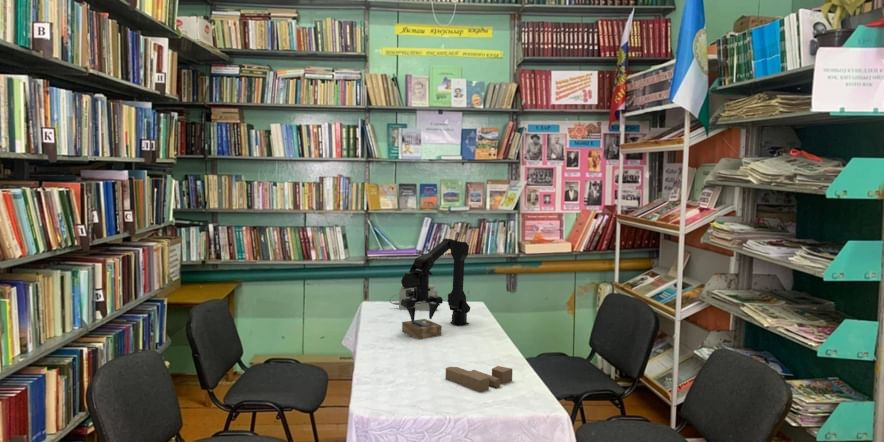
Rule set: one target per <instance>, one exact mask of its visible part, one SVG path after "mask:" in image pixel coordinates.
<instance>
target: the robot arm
mask: <svg viewBox="0 0 884 442" xmlns="http://www.w3.org/2000/svg"><path fill="white" fill-rule="evenodd" d="M469 249H470V245H469V243H468V242H466V241H460V240H454V239H452V238H442V241H440V242H439V243H438V244H437V245H436V246H434V247H433V248H432V249H431V250H430V251H428V252H427V253H423V254H421V255H419V256H417V257H416V258H414V260H413V263H412V265H411V267H410V269H409V271H408V272H405V273H404V275H403V276H402V278H401V281H400V282H401V283H402V286H403V287H404V288H405V289H414V291H411V290H406V297H409V298H410V299H409V298H408V299H402V301H401V305H402V306H404V307H405V308H407V310H406V311H407V312H408V313H409V317H410V319H411V320H410V321H412V322H414V320H415V316H416V310H415V307H414V306H415V304H421V303H428V304H429V311H428V317H429V318H428V320H432V318H433V316H434V314H435V313H436V312H437V311H436V309H437V310H438V308H439V306H441V304H443V301H444V300H443V297H441V295H440V296H439V295H438V294H437V295H433V296H429V291H430V288H429V285H430V276H433V272H431V269H432V268H433V267H434V265H435V262H436V261H437V260H438V259H440V258H441V256H443V255H444V254H445V253H447V252H448V251H449V250H450V255H451V257H452V259H453V275H452V289H451V292H450V293H448V294H447V301H446V302H447V305H448V306H449V307H448V308H449V310H450V311H452V314H451V321H450V323H451V324H453V325H455V326H457V327H458V326H465V325H469V322H468V321H467V320H468V318H467V317H468V316H467V315H468V313H469V312H471V311H470V310H471V306H470V305H469V303H468V302H467V295H466V294H465V291H464V281H465V280H464V279H465V278H464V276H465V260H466V258H467V257H468V255H469ZM412 298H413V299H416V300H412ZM419 301H421V302H419Z"/></svg>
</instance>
